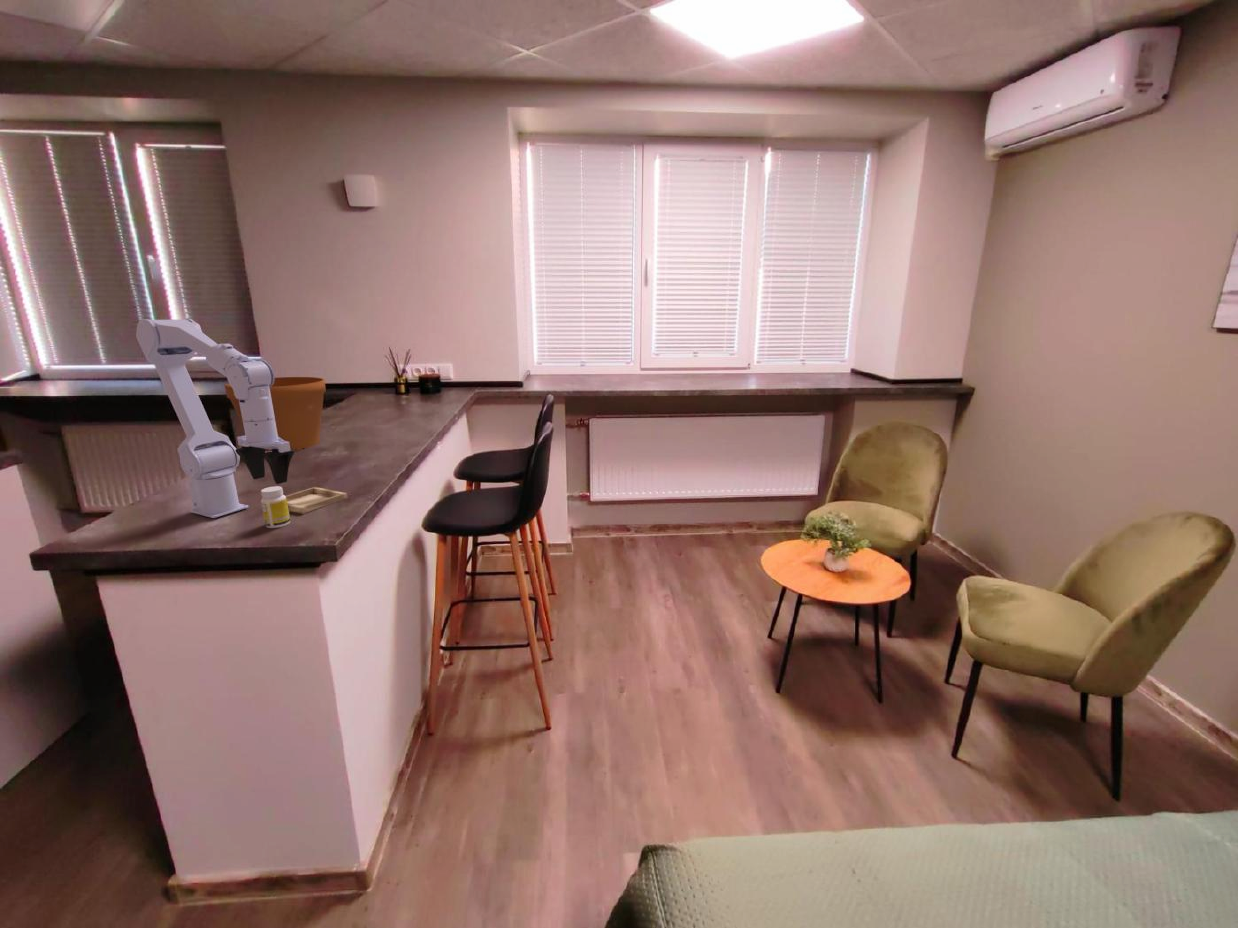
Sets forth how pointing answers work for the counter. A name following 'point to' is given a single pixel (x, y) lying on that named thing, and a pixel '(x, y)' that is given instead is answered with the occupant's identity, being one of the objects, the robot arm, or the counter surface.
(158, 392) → the counter surface
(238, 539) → the counter surface
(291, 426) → the flowerpot
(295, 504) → the tray
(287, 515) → the supplement bottle
